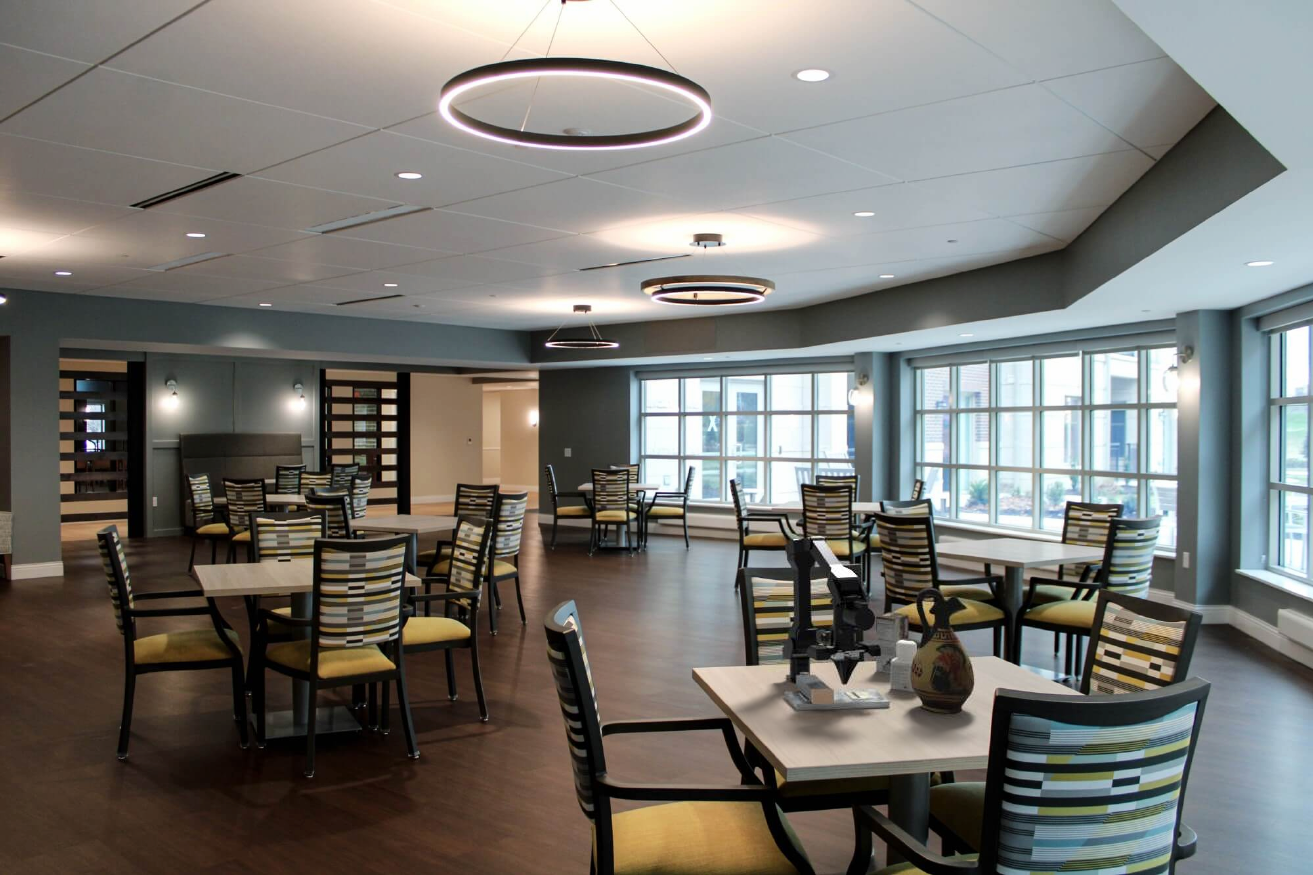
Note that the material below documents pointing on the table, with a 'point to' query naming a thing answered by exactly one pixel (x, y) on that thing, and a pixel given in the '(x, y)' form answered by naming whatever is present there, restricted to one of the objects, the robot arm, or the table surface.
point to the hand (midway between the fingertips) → (844, 684)
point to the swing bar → (814, 689)
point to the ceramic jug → (941, 658)
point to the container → (903, 664)
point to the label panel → (840, 700)
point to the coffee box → (889, 637)
